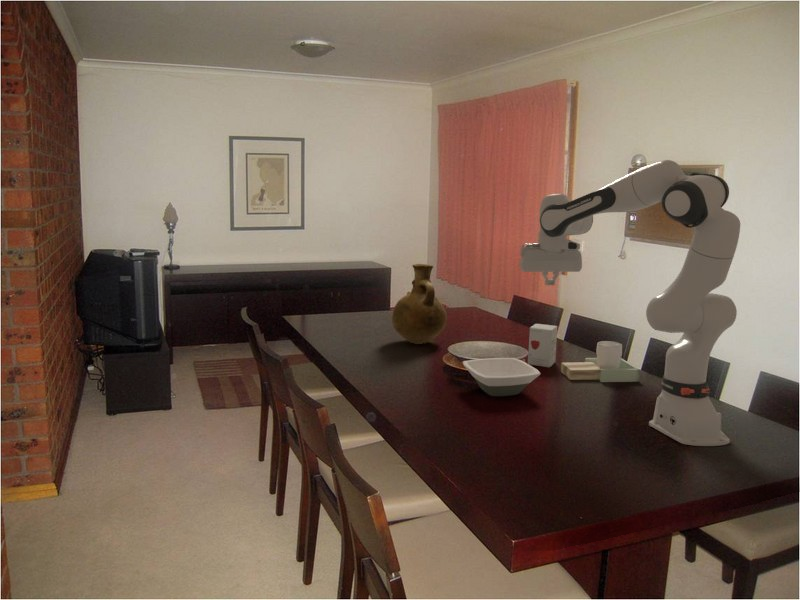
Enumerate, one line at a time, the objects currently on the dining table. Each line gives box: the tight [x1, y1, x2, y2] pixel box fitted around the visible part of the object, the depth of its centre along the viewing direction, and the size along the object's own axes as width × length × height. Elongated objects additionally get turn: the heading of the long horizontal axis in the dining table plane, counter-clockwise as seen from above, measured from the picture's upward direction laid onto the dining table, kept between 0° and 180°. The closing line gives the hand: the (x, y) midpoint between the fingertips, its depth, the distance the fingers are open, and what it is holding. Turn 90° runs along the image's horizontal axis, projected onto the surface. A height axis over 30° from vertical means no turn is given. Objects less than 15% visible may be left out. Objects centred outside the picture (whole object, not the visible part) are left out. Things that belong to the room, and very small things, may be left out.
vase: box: [391, 263, 448, 345], centre depth 275 cm, size 24×24×35 cm
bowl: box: [462, 357, 541, 397], centre depth 213 cm, size 22×23×8 cm
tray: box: [584, 357, 641, 383], centre depth 233 cm, size 16×14×4 cm
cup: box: [595, 340, 623, 369], centre depth 232 cm, size 9×9×12 cm
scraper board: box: [560, 361, 601, 381], centre depth 232 cm, size 10×12×4 cm
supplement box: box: [527, 323, 558, 368], centre depth 247 cm, size 9×9×15 cm
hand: (549, 285), depth 210 cm, fingers closed
